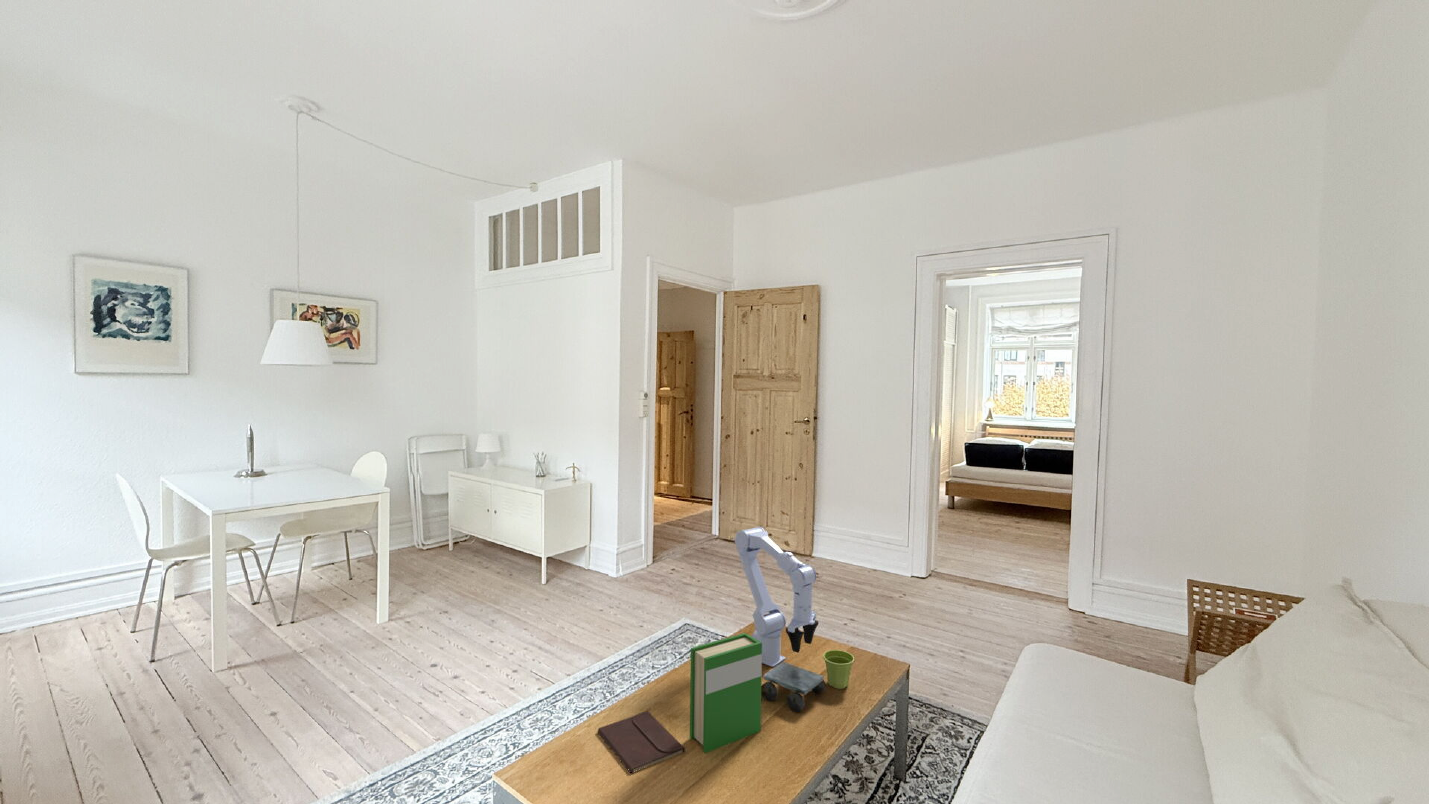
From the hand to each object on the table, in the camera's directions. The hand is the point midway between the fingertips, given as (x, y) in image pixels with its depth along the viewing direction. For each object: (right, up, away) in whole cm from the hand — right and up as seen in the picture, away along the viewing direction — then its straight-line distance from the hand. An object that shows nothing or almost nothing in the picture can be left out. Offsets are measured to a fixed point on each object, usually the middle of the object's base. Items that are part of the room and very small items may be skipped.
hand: (802, 647), depth 188 cm
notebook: (-47, -11, -35) cm, 59 cm away
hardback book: (-25, -11, -31) cm, 41 cm away
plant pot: (+11, -10, -4) cm, 15 cm away
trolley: (-4, -10, -12) cm, 16 cm away
